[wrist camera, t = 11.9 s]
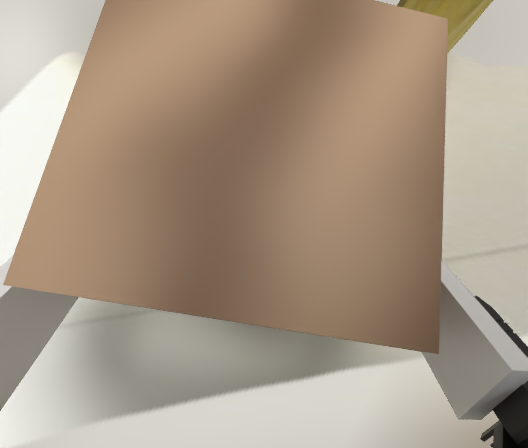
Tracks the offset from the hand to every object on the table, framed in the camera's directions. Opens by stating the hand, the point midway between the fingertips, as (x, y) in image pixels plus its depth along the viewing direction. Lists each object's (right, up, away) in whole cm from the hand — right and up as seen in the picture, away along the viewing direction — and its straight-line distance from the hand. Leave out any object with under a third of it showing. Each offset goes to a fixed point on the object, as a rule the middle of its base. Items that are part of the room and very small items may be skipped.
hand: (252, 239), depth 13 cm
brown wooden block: (-1, +1, +8) cm, 8 cm away
